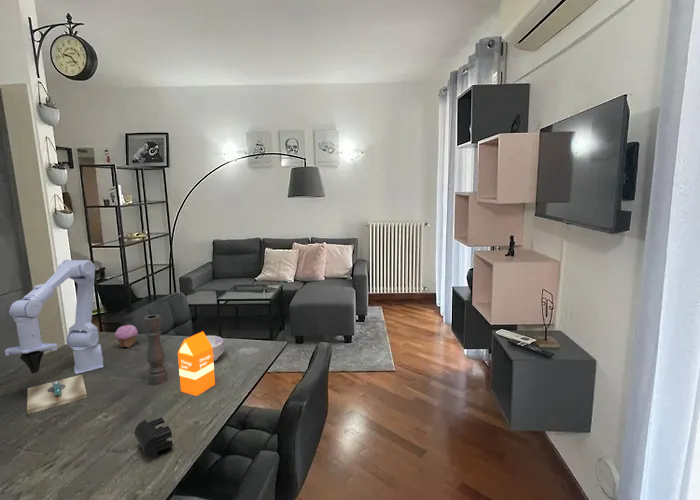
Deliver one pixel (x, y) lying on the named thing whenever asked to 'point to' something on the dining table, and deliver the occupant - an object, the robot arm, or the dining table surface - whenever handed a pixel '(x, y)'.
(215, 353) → the paper bowls
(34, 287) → the robot arm
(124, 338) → the cupcake
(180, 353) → the orange juice
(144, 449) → the end cap
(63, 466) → the dining table surface
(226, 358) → the dining table surface
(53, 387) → the teal rounded rod
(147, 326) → the candle holder
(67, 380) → the latch board
